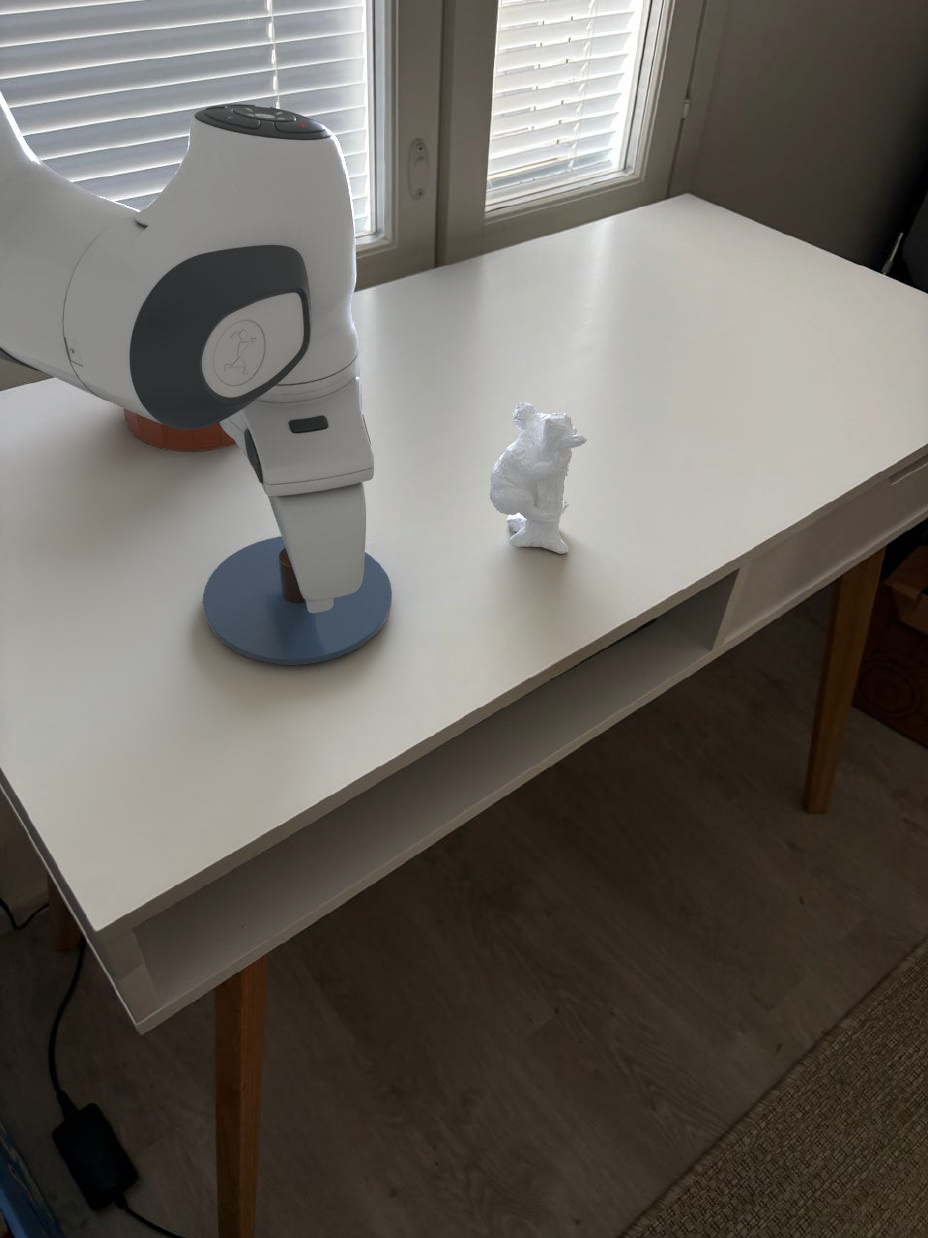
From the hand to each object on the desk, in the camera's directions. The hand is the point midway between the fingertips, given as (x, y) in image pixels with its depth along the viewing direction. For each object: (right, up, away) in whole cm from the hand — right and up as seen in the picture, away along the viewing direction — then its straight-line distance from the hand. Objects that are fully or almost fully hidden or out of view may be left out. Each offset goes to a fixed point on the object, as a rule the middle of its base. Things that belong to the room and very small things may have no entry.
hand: (302, 561), depth 72 cm
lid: (-1, -3, +2) cm, 4 cm away
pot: (-13, +15, +21) cm, 29 cm away
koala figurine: (+17, +3, +11) cm, 20 cm away
